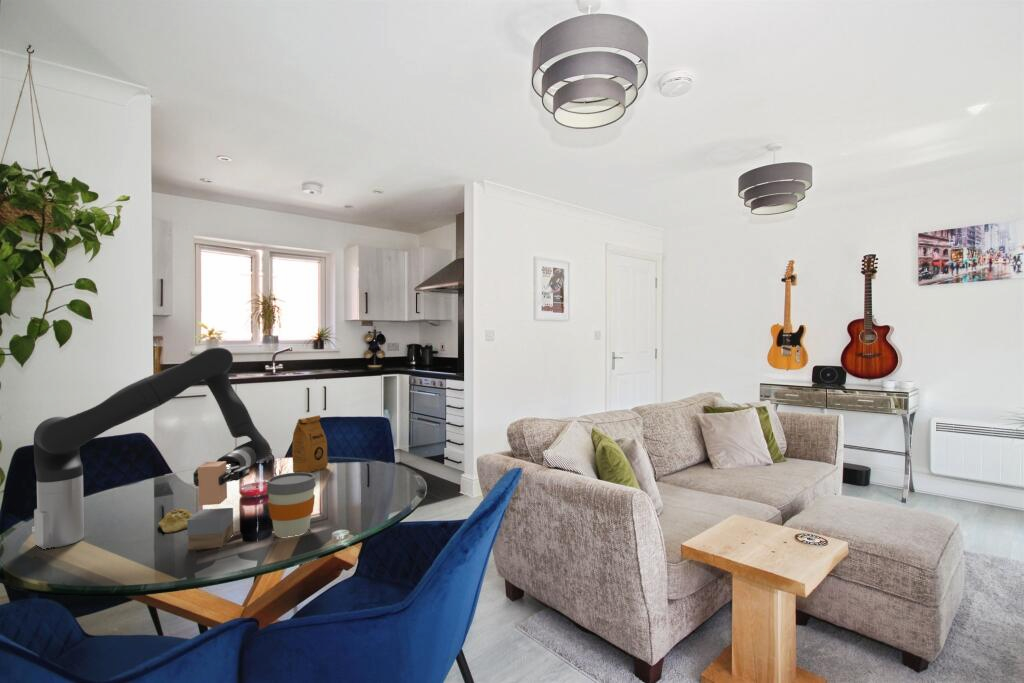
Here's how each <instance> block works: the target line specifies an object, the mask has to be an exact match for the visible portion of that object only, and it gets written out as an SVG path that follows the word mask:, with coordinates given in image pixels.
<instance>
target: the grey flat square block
mask: <svg viewBox="0 0 1024 683" xmlns="http://www.w3.org/2000/svg"><path fill="white" fill-rule="evenodd" d="M233 522H234V507H224V508H222V507H221V508H219V507H218V508H202V509H200V510H198V511H196V513H194V514H193V516H192V517H191V518H189V519H188V520H187V528H186V531H187V534H186V535H187V537H188V535H205V534H221V533H222V532H223V531H224V530H225V529H227V528H228V527H229V526H230V525H231V524H232V523H233Z"/></svg>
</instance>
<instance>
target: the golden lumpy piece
mask: <svg viewBox="0 0 1024 683" xmlns="http://www.w3.org/2000/svg"><path fill="white" fill-rule="evenodd" d="M193 515H194V514H192V513H190V512H189V511H188V510H186V509H183V508H182V509H181V508H179V509H172V510H170V511H169V512H167V513H166V514H165V516H163V518H162V519H161V520H160V521H159V522H158V523H157V526H159V527H160V529H161V530H162V531H163V532H164V533H165V534H172V533H177V532H179V531H183V530H187V520H188V519H189V518H191V517H192V516H193Z"/></svg>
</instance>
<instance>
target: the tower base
mask: <svg viewBox="0 0 1024 683" xmlns="http://www.w3.org/2000/svg"><path fill="white" fill-rule="evenodd" d="M234 525H235V524H234V521H233V523H232V524H231V525H230V526H229V527H228V528H227V529H225V530H224V531H223V532H222V533H221V534H205V535H188V536H187V540H188V545H187V546H188V551H190V550H204V549H205V550H206V549H217V548H216V547H221V548H223V547H224V546H225V545H226V544H227V543H228V542H229V541H230V540H231V539H232V538H231V536H232V535H233V534H234V533H235V532H234V530H235V528H234ZM234 535H235V534H234ZM230 538H231V539H230ZM229 539H230V540H229ZM228 540H229V541H228ZM227 541H228V542H227ZM226 542H227V543H226ZM225 543H226V544H225ZM224 544H225V545H224ZM223 545H224V546H223ZM222 546H223V547H222Z"/></svg>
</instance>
